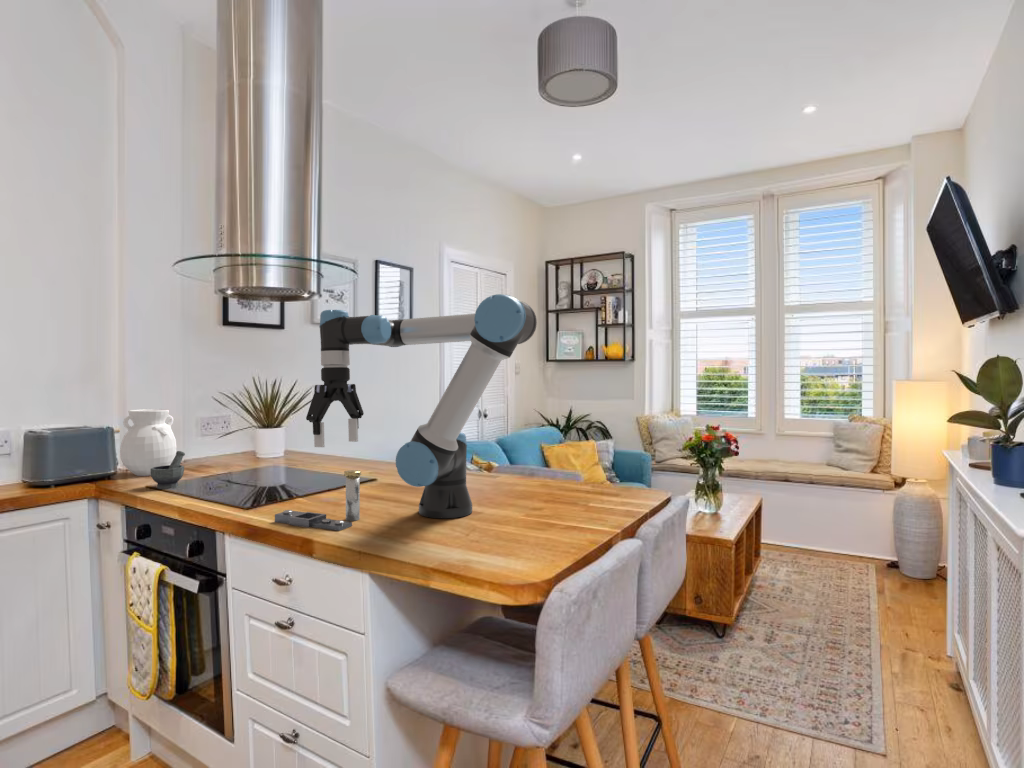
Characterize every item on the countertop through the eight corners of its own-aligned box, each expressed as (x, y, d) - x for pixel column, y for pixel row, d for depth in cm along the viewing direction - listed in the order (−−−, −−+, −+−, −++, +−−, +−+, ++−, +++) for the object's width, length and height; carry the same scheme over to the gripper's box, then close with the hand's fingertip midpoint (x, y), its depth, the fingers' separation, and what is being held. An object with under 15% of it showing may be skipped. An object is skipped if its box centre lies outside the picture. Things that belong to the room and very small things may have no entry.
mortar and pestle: (163, 491, 188) (163, 455, 187) (144, 488, 191) (144, 453, 191) (193, 484, 198) (193, 450, 198) (174, 482, 202) (174, 449, 201)
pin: (364, 518, 153) (364, 470, 153) (354, 522, 149) (354, 473, 149) (351, 516, 155) (351, 469, 155) (340, 520, 151) (340, 472, 151)
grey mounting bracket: (353, 525, 146) (353, 515, 146) (337, 531, 140) (337, 521, 140) (290, 517, 154) (290, 507, 154) (272, 522, 148) (272, 512, 148)
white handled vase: (164, 468, 233) (163, 407, 232) (185, 473, 222) (185, 409, 222) (111, 474, 217) (111, 410, 217) (132, 480, 207) (131, 411, 206)
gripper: (354, 367, 168) (355, 439, 168) (290, 366, 145) (292, 449, 145) (374, 367, 165) (376, 439, 165) (313, 365, 142) (315, 450, 142)
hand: (337, 444), depth 155 cm, fingers open, 13 cm apart
